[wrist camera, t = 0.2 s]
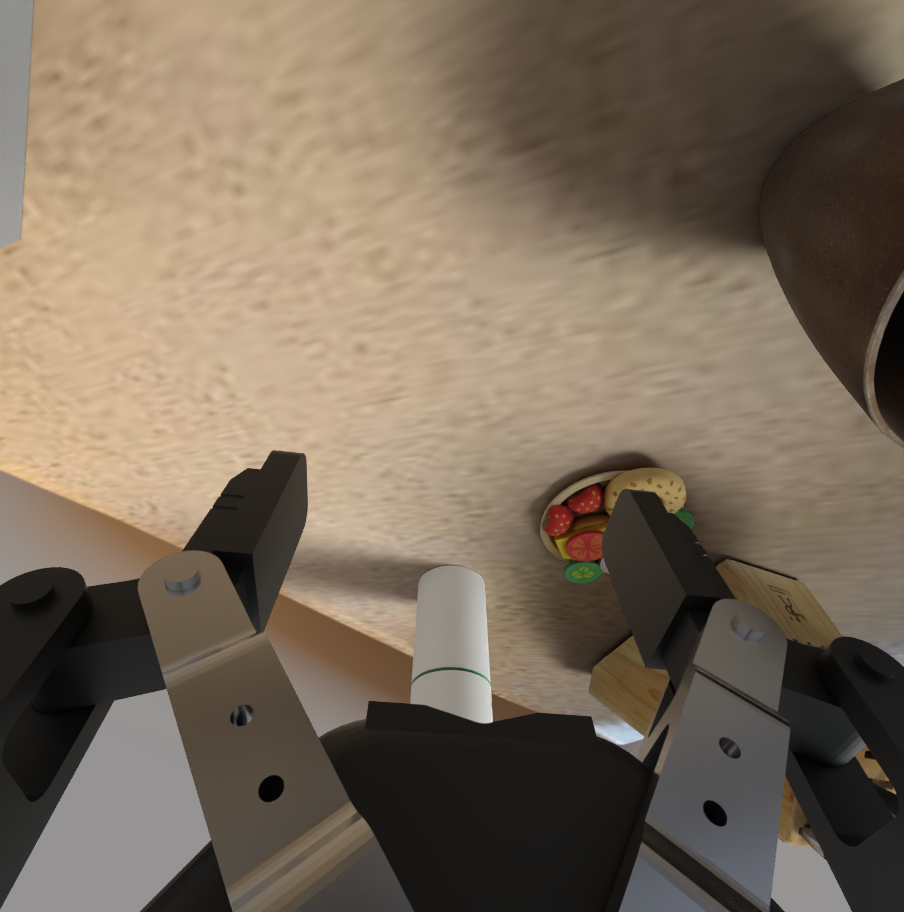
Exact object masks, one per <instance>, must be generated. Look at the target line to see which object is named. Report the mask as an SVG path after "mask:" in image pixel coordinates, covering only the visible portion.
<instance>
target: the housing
mask: <svg viewBox="0 0 904 912" xmlns="http://www.w3.org/2000/svg"><path fill="white" fill-rule="evenodd" d="M33 1H34V0H0V248H2V247H5V246H7V245H9V244H12V243H14V242H16V241H19V240H21V227H22V208H23V190H24V171H25V152H26V133H27V114H28V95H29V77H30V58H31V39H32V20H33Z"/></svg>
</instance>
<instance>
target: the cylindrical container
mask: <svg viewBox="0 0 904 912" xmlns="http://www.w3.org/2000/svg"><path fill="white" fill-rule="evenodd" d="M410 704H420V705H427V706H430V707H433V708H436V709H439V710H442V711H445V712H448V713H451V714H454V715H457V716H460V717H463V718H466V719H469V720H472V721H475V722H478V723H491V722H493V718H492V701H491V683H490V667H489V650H488V633H487V617H486V600H485V584H484V580H483V578H482V577H481V576H480V575H479V574H478V573H477V572H475V571H473V570H471V569H469V568H466V567H462V566H453V565H449V566H441V567H437V568H434V569H431V570H429V571H428V572H426V573H425V574H424V575H423V576H422V577H421V578H420V580H419V583H418V597H417V612H416V627H415V642H414V657H413V672H412V687H411V702H410Z"/></svg>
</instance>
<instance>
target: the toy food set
mask: <svg viewBox="0 0 904 912" xmlns="http://www.w3.org/2000/svg"><path fill="white" fill-rule="evenodd" d="M623 489H633V490H642V491H651V492H655V493H656V494H657V495H658V497H659V498H660V500H661V502H662V503H663V505H664V507H665V508H666V510H667V511H668V513H673V514H675V515H676V516H677V517H678V518H679V519H680V520H682V521H683V522H684V523H685V524H686V525H688V526H689V527H690V529H691V530H692V529H693V528H694V518H693V516H692V515H691V514H690V513H689V512H688V511H686V510H684V503H685V501H686V489H685V486H684V483H683V481H682V479H681V478H680V477H679V476H678V475H677V474H675V473H673V472H672V471H669V470H666V469H662V468H639V469H634V470H630V471H624V470H622V471H610V472H604V473H600V474H596V475H593V476H590V477H587V478H584V479H582V480H580V481H578V482H576V483H574V484H572V485H570V486H569V487H567V488H566V489H564V490H563V491H562V492H560V493H559V494H558V495H557V496H556V497H555V498H554V499H553V500H552V501H551V503H550V504H549V505H548V507H547V508H546V510H545V512H544V514H543V517H542V520H541V525H540V534H541V538H542V541H543V543H544V545H545V546H546V548H547V549H548V550H549V551H550V552H551V553H552V554H553V555H554V556H556V557H557V558H559V559H560V560H562V561H564V562H567V563H569V564H568V565H567V566H566V567H565V569H564V575H565V578H566V579H567V580H568V581H570V582H572V583H578V584H586V583H590V582H592V581H594V580H596V579H597V578H599V576H600V575H601V574H602V573H608V574H609V572H608V569H607V567H606V564H605V562H604V559H603V555H602V539H603V535H604V532H605V529H606V526H607V524H608V521H609V519H610V516H611V514H612V511H613V508H614V506H615V503H616V501H617V498H618V496H619V494H620V492H621V491H622V490H623Z"/></svg>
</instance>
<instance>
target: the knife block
mask: <svg viewBox="0 0 904 912" xmlns="http://www.w3.org/2000/svg"><path fill="white" fill-rule="evenodd" d="M716 569H717V570H718V572H719V573H720V575H721V576H722V578H723V579H724V581H725V582H726V584H727V585H728V587H729V589H730V590H731V592H732V593H733V595H734V596H735V598H736V599H737V600H739V601H743V602H746V603H748V604H751V605H753V606H755V607H756V608H758V609H760V610H762V611H763V612H764V613H766V614H767V615H768V616H770V617H771V618H772V619H773V620H774V621H775V622H776V623H777V624H778V625H779V626H780V628H781V629H782V631H783V632H784V634H785V636H786V638H787V639H790V640H793V641H796V642H799V643H802V644H805V645H808V646H811V647H814V648H817V649H820V650H823V651H825V650H826V648H827V647H828V646H829V645H830V644H831V642H832V641H833V640H834V639H836V638H839V637H843V636H842V635H841V634H840V632H839V631H838V629H837V628H836V627H835V625H834V624H833V622H832V621H831V620H830V618H829V617H828V615H827V614H826V613H825V611H824V610H823V608H822V607H821V606H820V604H819V603H818V602H817V600H816V599H815V597H814V596H813V595H812V593H811V592H810V590H809V589H808V588H807V586H806V585H805V584H804V583H802V582H799V581H796V580H793V579H790V578H787V577H783V576H780V575H777V574H774V573H771V572H768V571H765V570H762V569H758V568H755V567H752V566H749V565H746V564H743V563H739V562H736V561H733V560H729V559H726V560H724V561H723V562H722V563H719V564H718V565H717V567H716ZM669 678H670V677H669V675H668V672H667V670H662V669H649V668H645V665H644V662H643V660H642V657H641V655H640V652H639V649H638V647H637V644H636V642H635V639H634V636H633V635H632V636H631V637H630V638H629V639H627V640H626V641H625V642H624V643H623V644H621V645H620V646H619V647H618V648H616V649H615V650H614V651H613V652H611V653H610V654H609V655H608V656H606V657H604V658H603V660H601V661H600V662H599V663H598V664H597V665H595V666H594V667H593V672H592V677H591V681H590V687H589V694H590V695H591V696H593V697H594V698H595V699H596V700H598V701H599V702H600V703H602V704H603V705H604V706H606V707H607V708H608V709H609V710H611V711H612V712H613V713H615V714H616V715H617V716H618V717H620V718H621V719H622V720H624V721H625V722H626V723H627V724H629V725H630V726H631V727H633V728H634V729H635V730H637V731H638V732H639V733H640V734H642V735H643V736H644V737H645V734H646V731H647V729H648V726H649V724H650V721H651V719H652V716H653V714H654V711H655V709H656V706H657V704H658V701H659V699H660V696H661V694H662V691H663V689H664V687H665V685H666V683H667V681H668V680H669ZM855 757H856V758H857V760H858V762H859V763H860V765H861V766H862V768H863V770H864V771H865V773H866V774H867V776H868V778H869V779H870V781H871V782H872V784H873V785H874V787H875V789H876V790H877V792H878V793H879V795H880V797H881V798H882V800H883V801H884V803H885V805H886V806H887V808H888V809H889V811H890V813H891V814H892V816H893V817H894V818H895V817H896V815H897V812H898V799H897V795H896V792H895V790H894V787H893V786H892V784H891V782H890V781H889V779H888V778H887V776H886V775H885V773H884V772H883V770H882V769H881V767H880V766H879V764H878V763H877V761H876V759H875V758H874V756H873V755H872V753H871V752H870V750H869V749H868V747H867V746H865V747H864V748H863V749H862V750H861V751H860V752H858V753H857V754H856V755H855ZM778 838H779V839H780V840H781V841H783V842H784V843H786V844H791V845H800V846H808V847H812V848H813V849H814V850H815V851H816V852H818V853H819V854H820V855H821V856H822V857H824V859H826V858H825V856H824V854H823V852H822V850H821V848H820V845H819V843H818V841H817V839H816V837H815V835H814V833H813V831H812V829H811V827H810V825H809V823H808V821H807V819H806V817H805V815H804V813H803V811H802V809H801V807H800V805H799V803H798V801H797V799H796V797H795V795H794V793H793V791H792V789H791V787H790V785H789V783H788V781H787V779H786V777H785V780H784V789H783V797H782V806H781V815H780V823H779V832H778Z"/></svg>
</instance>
